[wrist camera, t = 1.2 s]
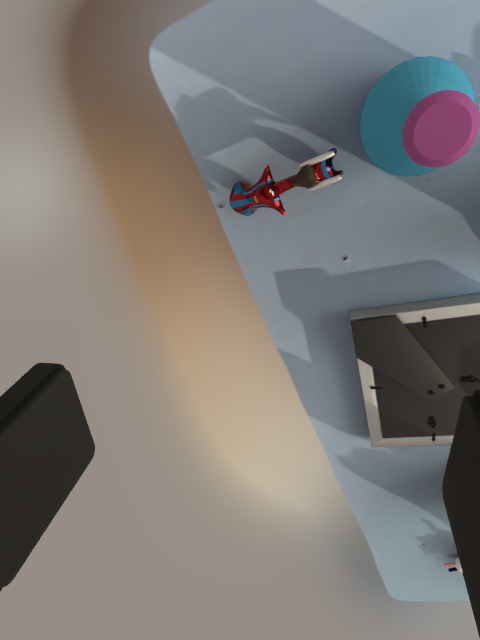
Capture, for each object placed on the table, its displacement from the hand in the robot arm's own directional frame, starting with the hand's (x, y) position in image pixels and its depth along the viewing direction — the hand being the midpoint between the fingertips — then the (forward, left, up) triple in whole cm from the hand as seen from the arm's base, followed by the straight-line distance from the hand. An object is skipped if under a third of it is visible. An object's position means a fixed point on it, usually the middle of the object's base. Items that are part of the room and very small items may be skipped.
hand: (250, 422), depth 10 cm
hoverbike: (+1, -3, -39) cm, 39 cm away
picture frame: (+26, +13, -39) cm, 49 cm away
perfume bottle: (-4, +9, -39) cm, 40 cm away
